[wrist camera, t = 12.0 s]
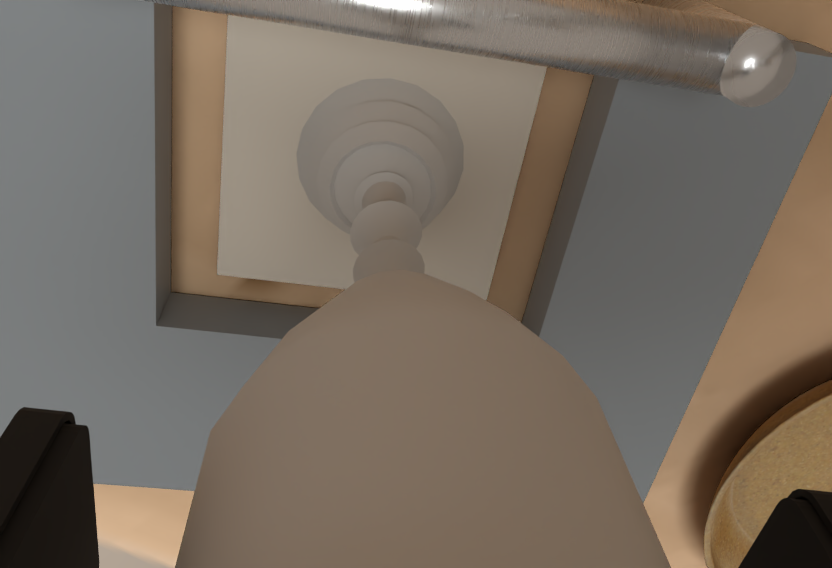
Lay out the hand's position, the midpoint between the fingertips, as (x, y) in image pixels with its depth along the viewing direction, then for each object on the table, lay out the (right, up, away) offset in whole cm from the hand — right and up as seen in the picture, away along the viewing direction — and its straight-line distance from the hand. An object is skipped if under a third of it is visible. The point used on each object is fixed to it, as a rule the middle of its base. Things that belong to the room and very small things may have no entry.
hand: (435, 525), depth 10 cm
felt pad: (-2, +7, +12) cm, 14 cm away
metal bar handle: (-1, +12, +10) cm, 15 cm away
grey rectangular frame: (-2, +4, +14) cm, 15 cm away
